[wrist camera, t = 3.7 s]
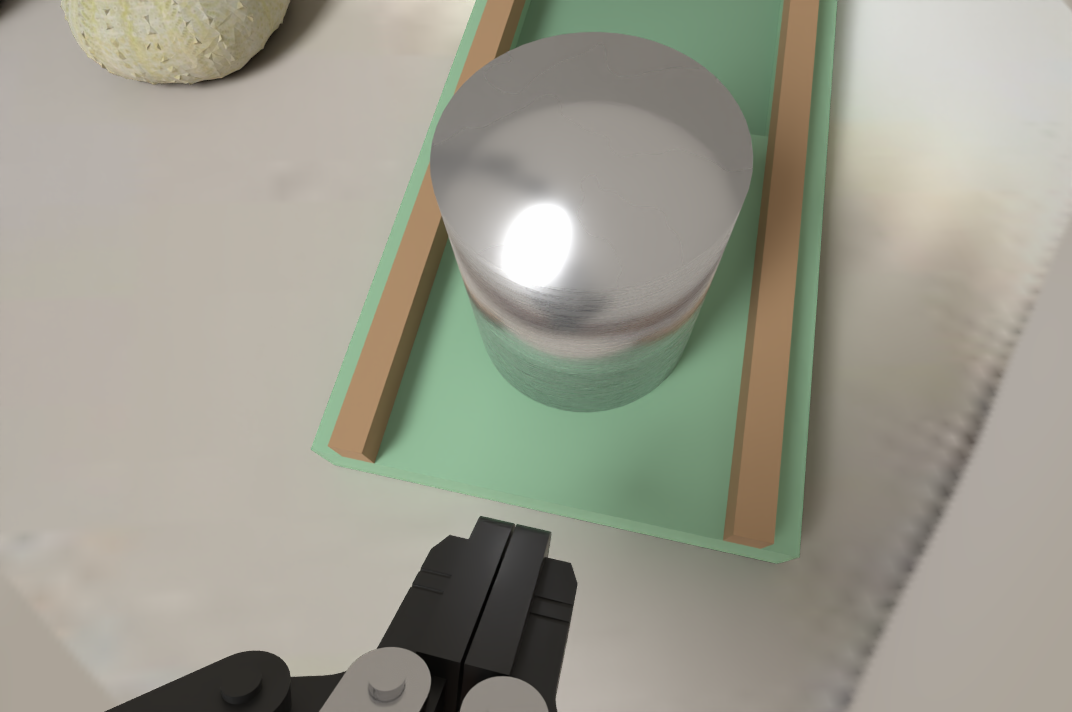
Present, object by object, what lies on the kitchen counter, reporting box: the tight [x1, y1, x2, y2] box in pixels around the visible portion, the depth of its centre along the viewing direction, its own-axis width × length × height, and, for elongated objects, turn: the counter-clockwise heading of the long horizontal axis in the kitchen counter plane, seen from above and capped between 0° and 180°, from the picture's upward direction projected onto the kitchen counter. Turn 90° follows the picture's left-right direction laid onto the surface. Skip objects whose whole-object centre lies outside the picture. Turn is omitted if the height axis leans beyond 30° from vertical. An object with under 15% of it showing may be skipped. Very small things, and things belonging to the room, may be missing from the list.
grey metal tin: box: [430, 32, 753, 412], centre depth 16 cm, size 7×7×8 cm
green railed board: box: [311, 0, 837, 564], centre depth 22 cm, size 14×26×4 cm, turn 167°
